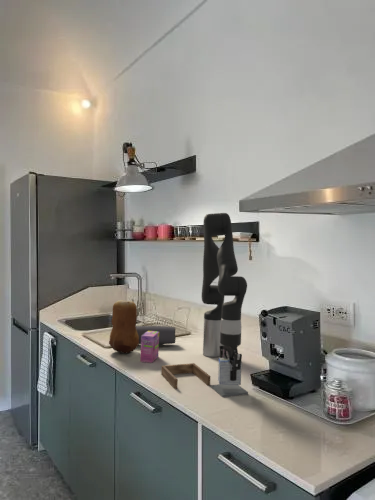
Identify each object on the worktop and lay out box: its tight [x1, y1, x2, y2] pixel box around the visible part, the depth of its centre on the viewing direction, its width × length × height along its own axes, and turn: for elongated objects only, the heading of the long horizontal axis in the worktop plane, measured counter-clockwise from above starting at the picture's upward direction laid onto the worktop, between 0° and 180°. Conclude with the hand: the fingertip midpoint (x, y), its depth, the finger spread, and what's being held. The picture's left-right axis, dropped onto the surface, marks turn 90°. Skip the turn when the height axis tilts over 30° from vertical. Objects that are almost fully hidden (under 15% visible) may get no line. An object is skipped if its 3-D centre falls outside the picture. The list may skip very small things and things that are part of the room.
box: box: [139, 331, 160, 364], centre depth 187 cm, size 10×6×12 cm, turn 168°
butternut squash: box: [108, 299, 140, 354], centre depth 197 cm, size 14×13×25 cm
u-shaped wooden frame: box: [160, 362, 211, 390], centre depth 160 cm, size 14×17×4 cm
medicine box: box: [217, 357, 243, 386], centre depth 150 cm, size 8×4×9 cm, turn 92°
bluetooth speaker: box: [136, 325, 177, 347], centre depth 212 cm, size 23×9×10 cm, turn 95°
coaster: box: [210, 383, 249, 398], centre depth 150 cm, size 10×10×1 cm
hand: (229, 377), depth 150 cm, fingers closed on medicine box, 5 cm apart
